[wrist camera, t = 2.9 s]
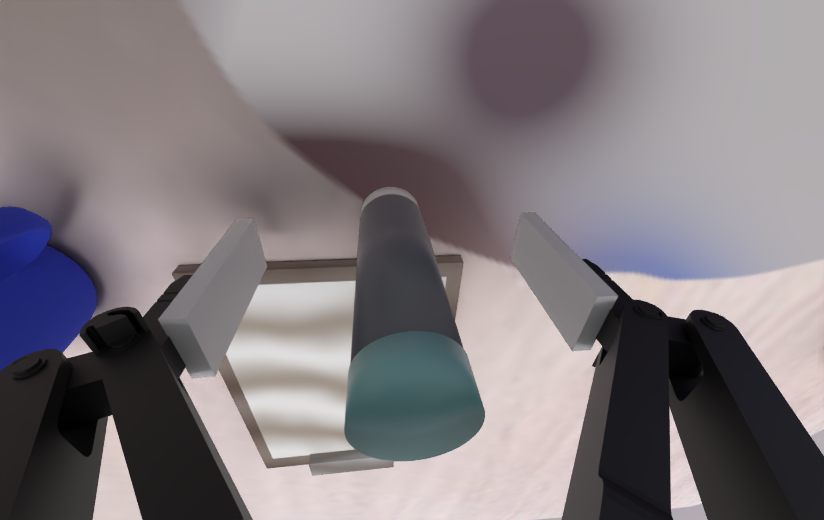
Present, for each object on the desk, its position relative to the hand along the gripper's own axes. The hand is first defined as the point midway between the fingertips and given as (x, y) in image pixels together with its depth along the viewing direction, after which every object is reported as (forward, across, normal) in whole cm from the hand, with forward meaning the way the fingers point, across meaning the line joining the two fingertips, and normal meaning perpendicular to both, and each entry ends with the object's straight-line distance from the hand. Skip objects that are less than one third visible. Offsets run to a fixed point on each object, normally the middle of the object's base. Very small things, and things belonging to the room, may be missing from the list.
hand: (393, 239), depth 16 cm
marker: (+3, 0, 0) cm, 3 cm away
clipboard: (+3, -4, -15) cm, 16 cm away
